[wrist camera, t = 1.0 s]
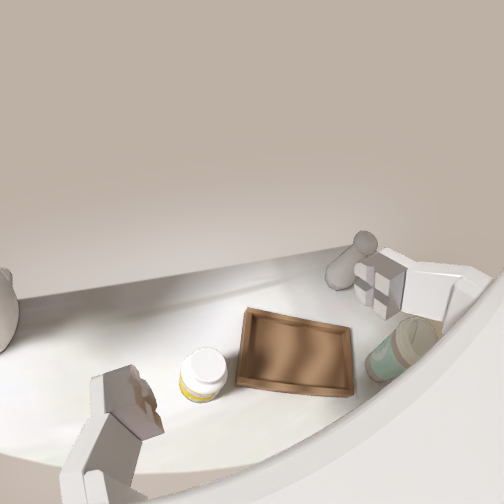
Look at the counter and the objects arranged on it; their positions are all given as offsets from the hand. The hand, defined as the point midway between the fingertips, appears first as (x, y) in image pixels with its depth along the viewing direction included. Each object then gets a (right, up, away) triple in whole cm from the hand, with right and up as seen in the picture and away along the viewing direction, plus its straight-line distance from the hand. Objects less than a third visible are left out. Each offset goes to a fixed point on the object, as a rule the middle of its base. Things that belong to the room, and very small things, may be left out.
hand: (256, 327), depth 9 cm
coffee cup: (+22, -18, +36) cm, 46 cm away
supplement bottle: (-7, -16, +27) cm, 32 cm away
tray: (+7, -14, +33) cm, 37 cm away
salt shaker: (+16, -4, +46) cm, 49 cm away
